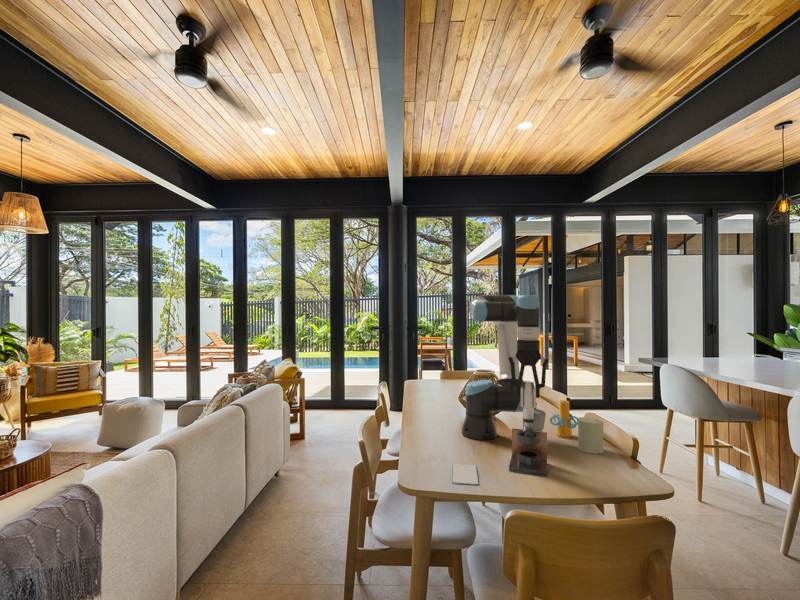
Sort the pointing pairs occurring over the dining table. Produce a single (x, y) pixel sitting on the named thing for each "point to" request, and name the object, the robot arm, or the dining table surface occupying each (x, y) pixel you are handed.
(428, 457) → the dining table surface
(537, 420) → the coffee maker
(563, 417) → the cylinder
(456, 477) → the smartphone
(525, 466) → the collar stand
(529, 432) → the silver metal tube
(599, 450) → the can
